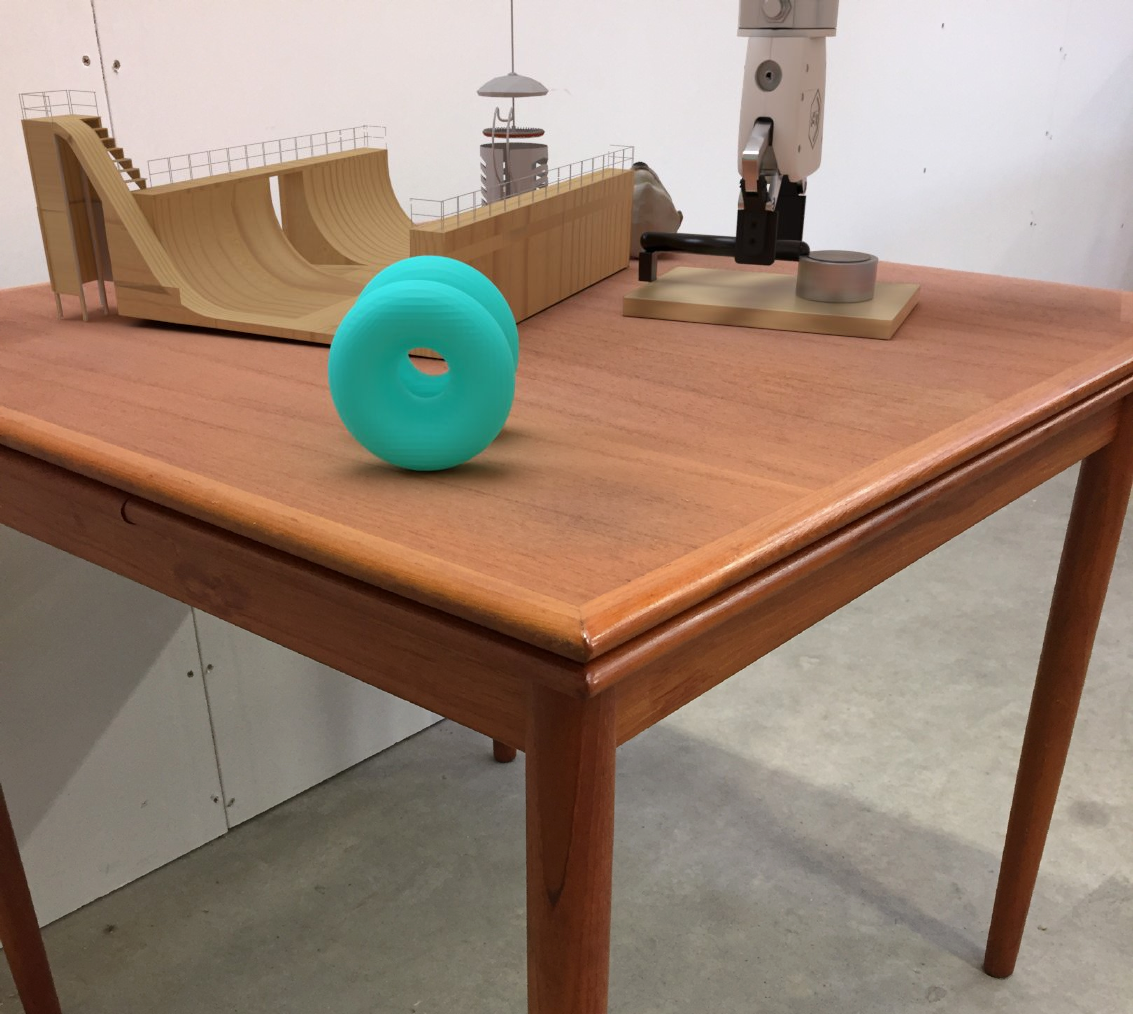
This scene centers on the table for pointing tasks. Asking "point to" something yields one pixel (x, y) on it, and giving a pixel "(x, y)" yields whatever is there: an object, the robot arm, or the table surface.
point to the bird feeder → (514, 154)
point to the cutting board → (767, 303)
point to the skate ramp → (298, 234)
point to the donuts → (405, 394)
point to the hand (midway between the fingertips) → (769, 254)
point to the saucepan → (818, 271)
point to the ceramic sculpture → (650, 207)
